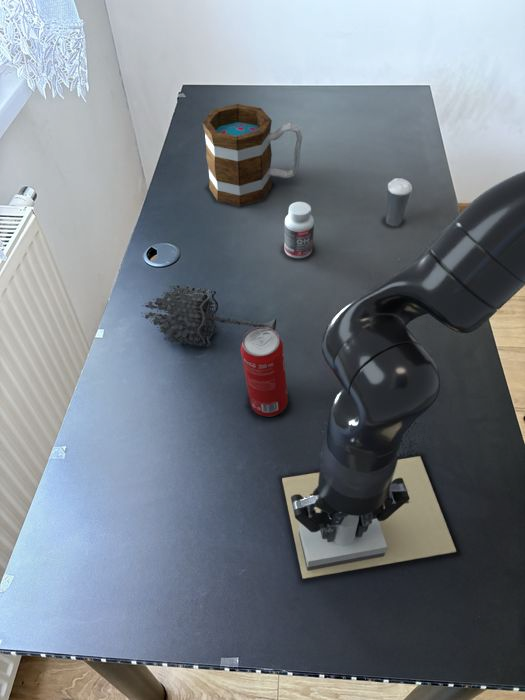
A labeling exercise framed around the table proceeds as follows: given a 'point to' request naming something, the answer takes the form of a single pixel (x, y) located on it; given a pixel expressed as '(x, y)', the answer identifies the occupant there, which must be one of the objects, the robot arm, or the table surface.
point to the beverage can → (265, 371)
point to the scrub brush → (342, 544)
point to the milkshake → (397, 200)
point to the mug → (243, 153)
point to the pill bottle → (299, 230)
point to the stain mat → (387, 521)
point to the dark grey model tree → (191, 315)
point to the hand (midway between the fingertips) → (342, 532)
